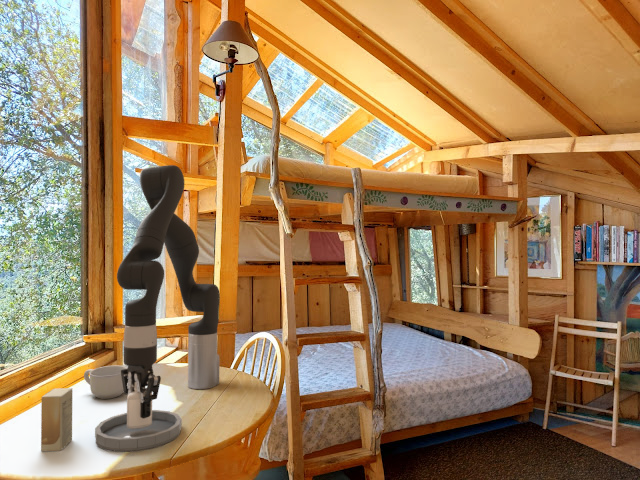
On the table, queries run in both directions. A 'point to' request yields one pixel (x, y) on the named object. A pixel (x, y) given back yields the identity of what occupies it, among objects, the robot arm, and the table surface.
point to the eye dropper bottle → (136, 411)
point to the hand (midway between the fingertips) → (139, 414)
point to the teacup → (105, 381)
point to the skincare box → (56, 419)
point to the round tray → (137, 432)
